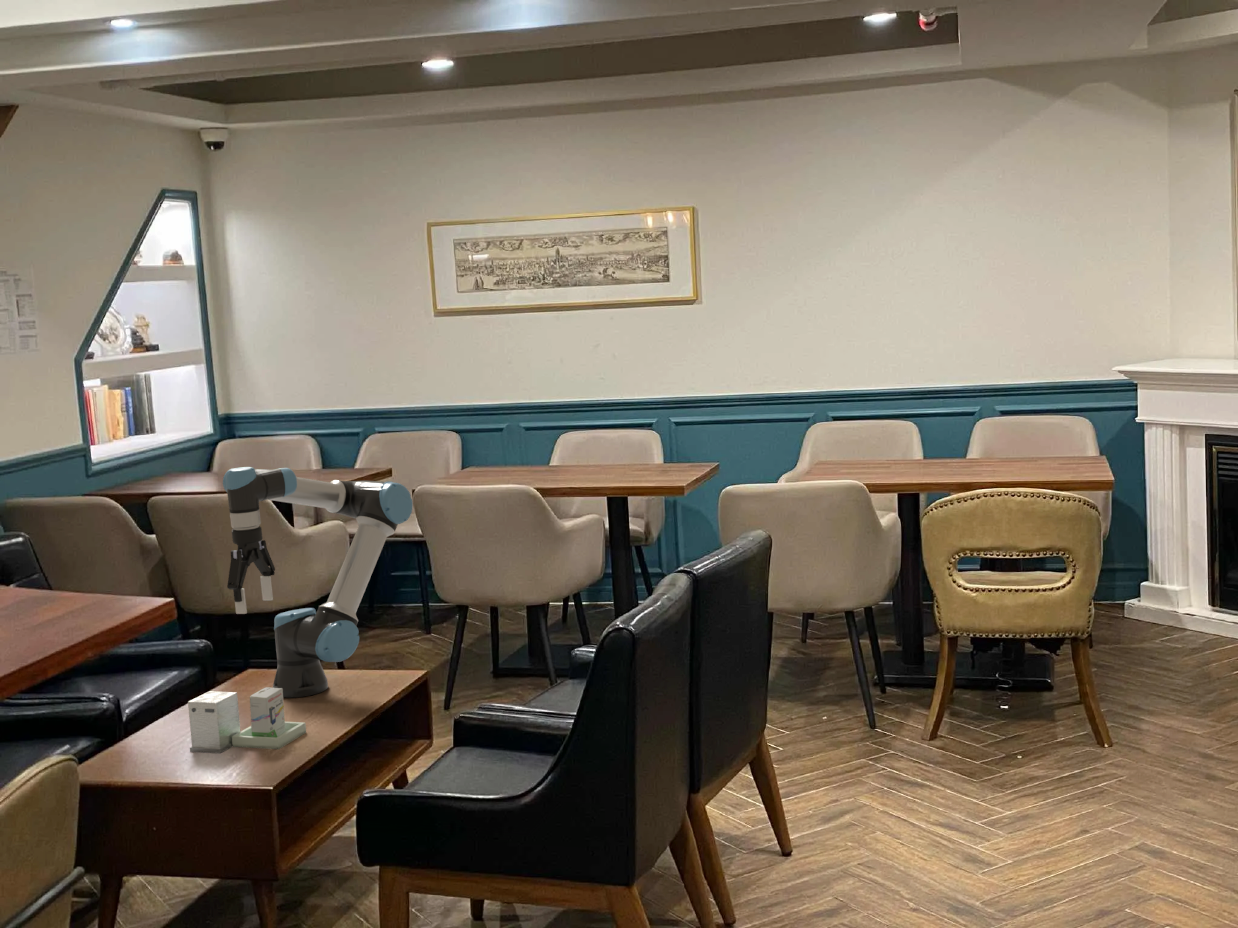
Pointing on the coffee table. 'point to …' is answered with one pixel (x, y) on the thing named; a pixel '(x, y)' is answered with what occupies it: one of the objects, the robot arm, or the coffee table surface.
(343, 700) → the coffee table surface
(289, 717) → the coffee table surface
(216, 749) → the unit
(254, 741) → the tray
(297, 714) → the coffee table surface
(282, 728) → the ink box
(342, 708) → the coffee table surface
